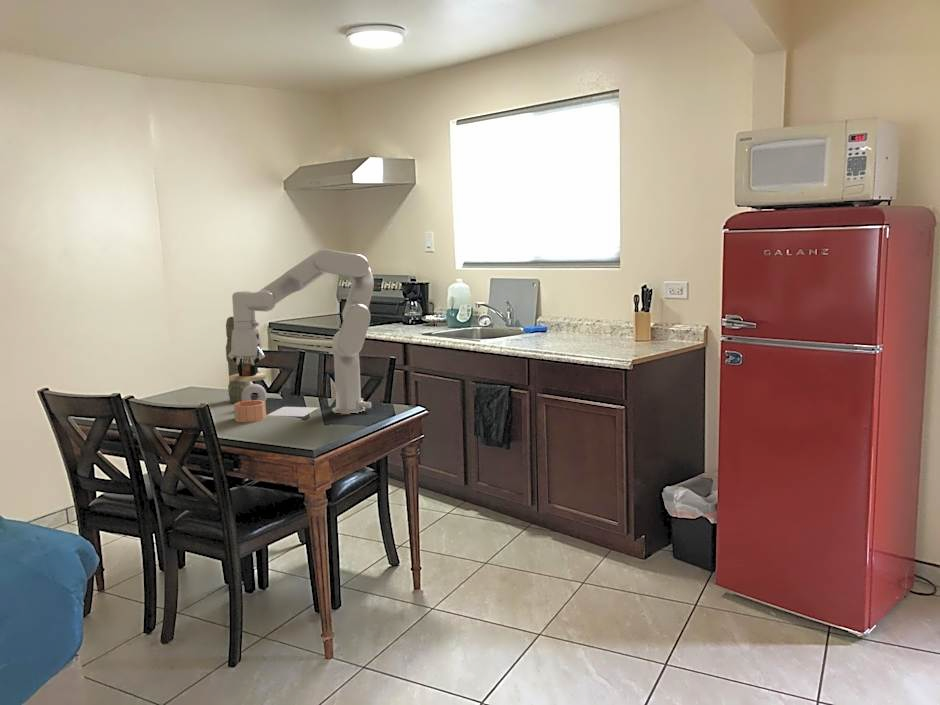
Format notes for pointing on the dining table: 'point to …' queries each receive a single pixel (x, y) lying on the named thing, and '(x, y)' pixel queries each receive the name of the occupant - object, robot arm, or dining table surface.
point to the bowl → (250, 411)
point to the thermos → (234, 366)
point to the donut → (254, 388)
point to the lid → (247, 375)
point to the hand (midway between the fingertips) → (247, 374)
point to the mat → (293, 411)
